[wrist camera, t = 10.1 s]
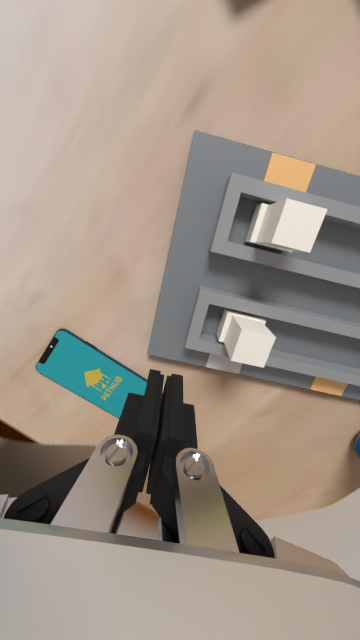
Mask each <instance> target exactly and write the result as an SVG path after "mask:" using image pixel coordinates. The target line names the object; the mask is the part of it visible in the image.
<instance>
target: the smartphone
mask: <svg viewBox="0 0 360 640" xmlns="http://www.w3.org/2000/svg"><path fill="white" fill-rule="evenodd" d="M36 370H37V371H38V372H39V373H40V374H42V375H44V376H46V377H47V378H49V379H51V380H53V381H54V382H56V383H58V384H60V385H61V386H63V387H65V388H67V389H68V390H70V391H72V392H74V393H75V394H77V395H79V396H81V397H82V398H84V399H86V400H88V401H89V402H91V403H93V404H95V405H96V406H98V407H100V408H102V409H103V410H105V411H107V412H109V413H110V414H112V415H114V416H116V417H117V418H119V419H120V416H121V413H122V410H123V407H124V404H125V401H126V398H127V395H128V393H134V394H139V395H144V393H145V389H146V385H147V380H146V379H145V378H143V377H142V376H140V375H138V374H137V373H135V372H134V371H132V370H130V369H129V368H127V367H126V366H124V365H122V364H121V363H119V362H118V361H116V360H114V359H113V358H111V357H110V356H108V355H106V354H105V353H103V352H102V351H100V350H98V349H97V348H96V347H95V346H93V345H91V344H90V343H88V342H86V341H84V340H83V339H81V338H79V337H78V336H76V335H75V334H73V333H71V332H70V331H68V330H66V329H60V330H58V331H57V332H56V334H55V335H54V337H53V339H52V340H51V342H50V343H49V345H48V347H47V348H46V350H45V352H44V353H43V355H42V357H41V358H40V360H39V362H38V363H37V365H36Z"/></svg>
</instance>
